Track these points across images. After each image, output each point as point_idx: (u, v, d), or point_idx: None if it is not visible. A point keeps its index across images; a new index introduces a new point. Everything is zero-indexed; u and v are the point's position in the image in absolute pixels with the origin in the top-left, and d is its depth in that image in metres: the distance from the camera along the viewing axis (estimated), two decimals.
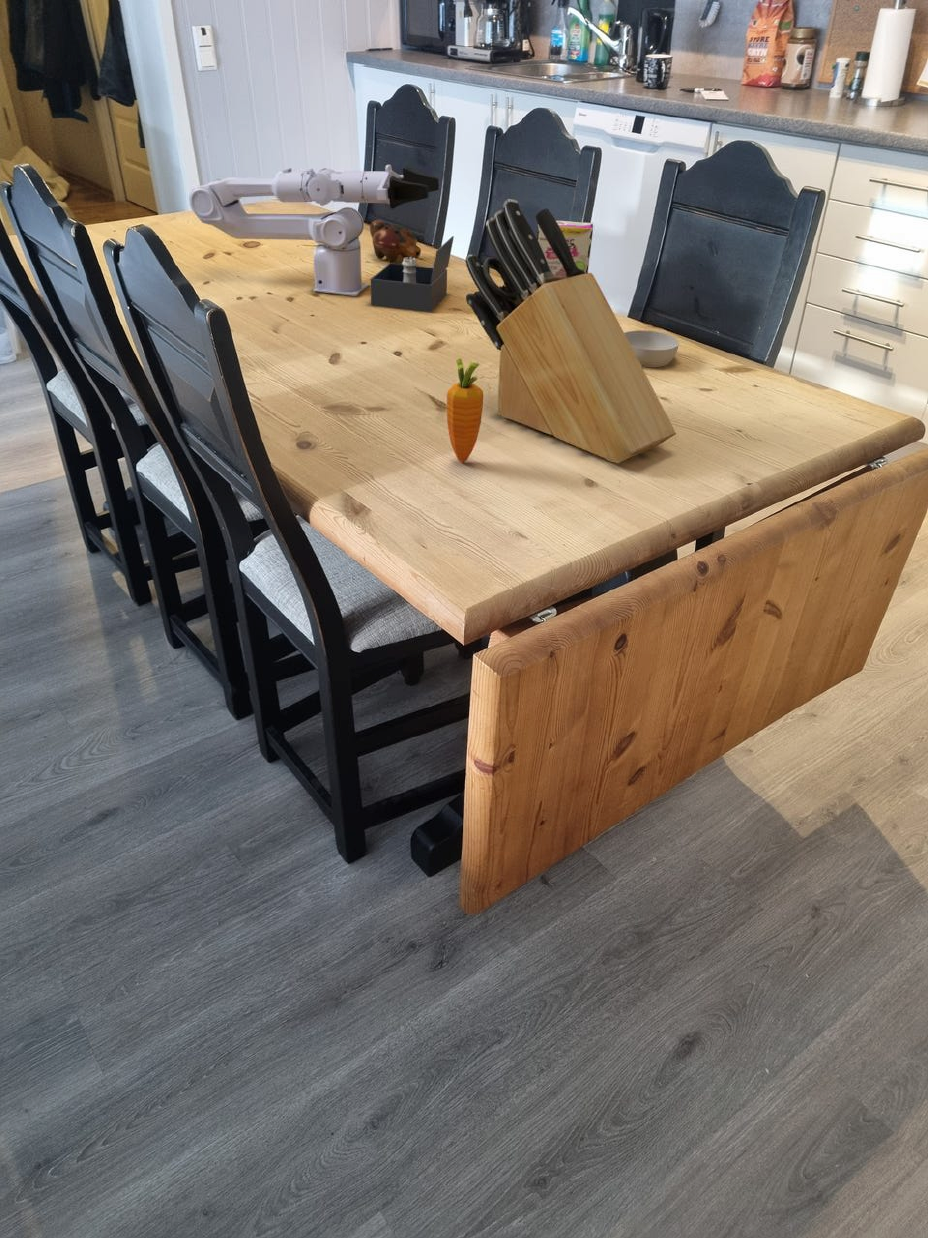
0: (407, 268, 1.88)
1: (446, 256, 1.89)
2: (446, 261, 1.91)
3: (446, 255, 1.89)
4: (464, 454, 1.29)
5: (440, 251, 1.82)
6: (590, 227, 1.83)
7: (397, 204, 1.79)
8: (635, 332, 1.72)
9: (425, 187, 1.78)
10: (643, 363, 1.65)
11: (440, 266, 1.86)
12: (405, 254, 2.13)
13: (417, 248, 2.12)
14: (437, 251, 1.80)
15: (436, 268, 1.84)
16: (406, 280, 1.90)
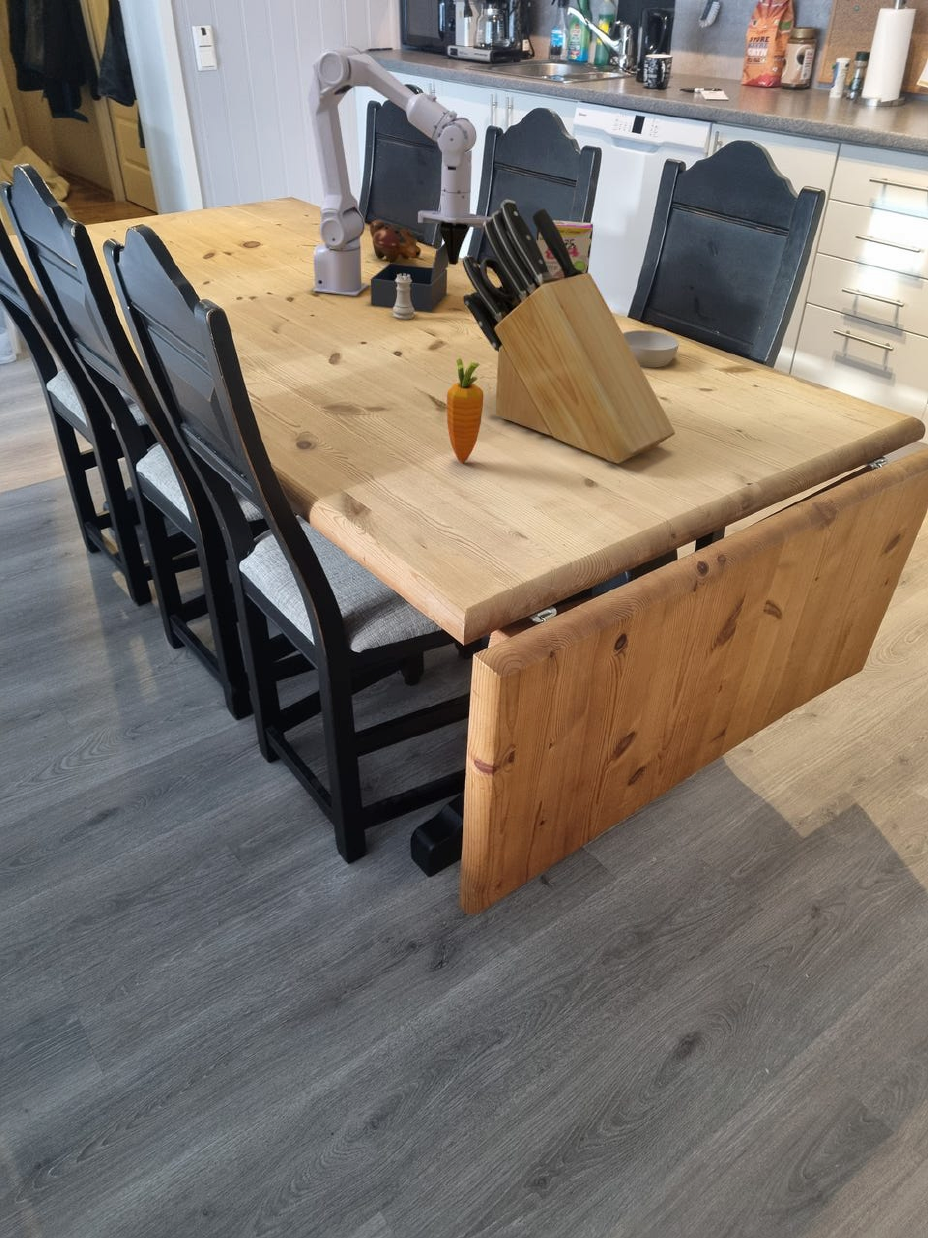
0: (401, 285, 1.79)
1: (446, 256, 1.89)
2: (446, 261, 1.91)
3: (446, 255, 1.89)
4: (464, 454, 1.29)
5: (440, 251, 1.82)
6: (590, 227, 1.82)
7: None
8: (635, 332, 1.72)
9: (449, 262, 1.86)
10: (643, 363, 1.65)
11: (440, 266, 1.86)
12: (405, 254, 2.13)
13: (417, 248, 2.12)
14: (437, 251, 1.80)
15: (436, 268, 1.84)
16: (400, 298, 1.81)
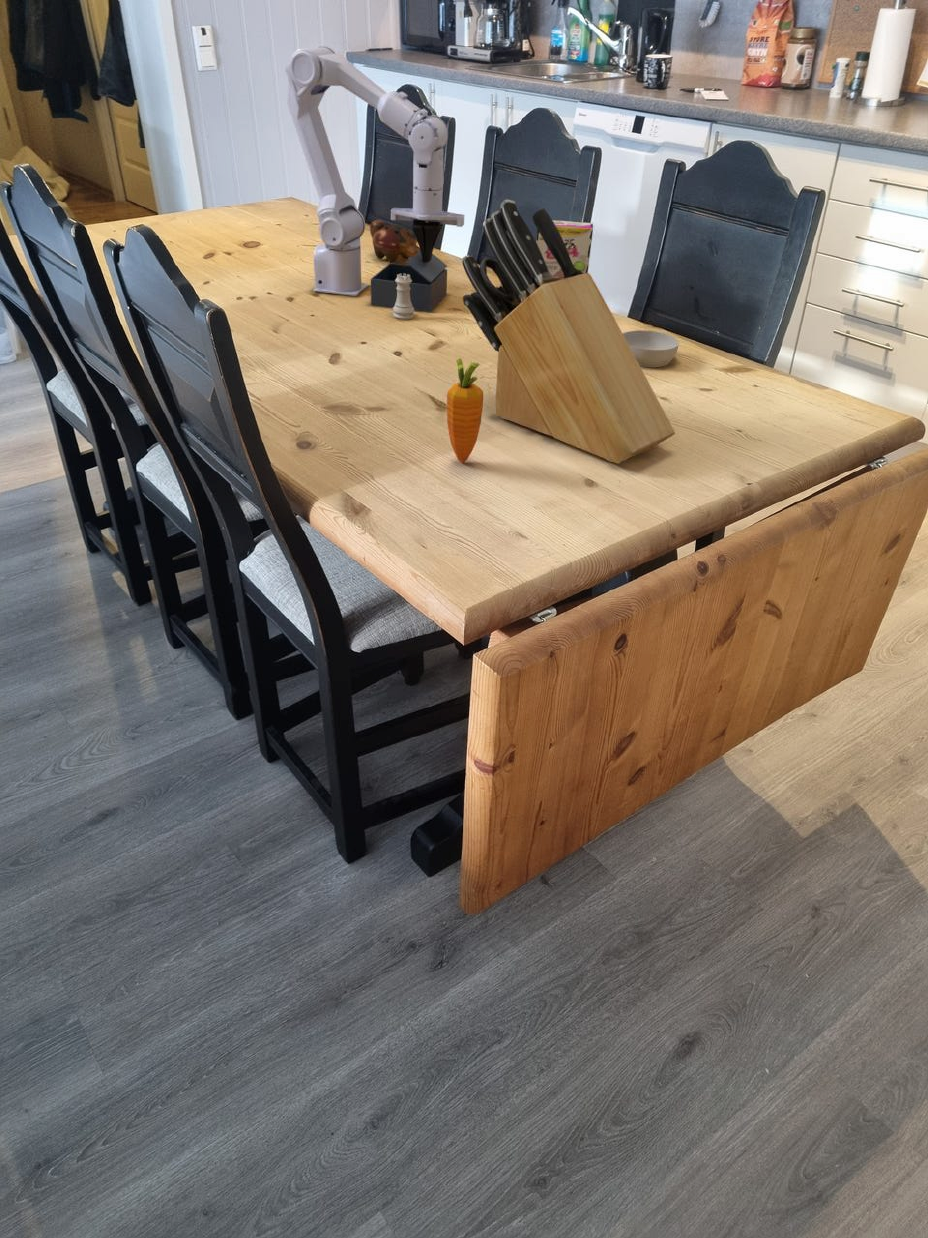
0: (401, 285, 1.79)
1: (431, 260, 1.90)
2: (437, 263, 1.91)
3: None
4: (464, 454, 1.29)
5: (412, 260, 1.85)
6: (590, 227, 1.82)
7: None
8: (635, 332, 1.72)
9: (422, 259, 1.87)
10: (643, 363, 1.65)
11: (430, 268, 1.87)
12: (405, 254, 2.13)
13: (417, 248, 2.12)
14: (406, 261, 1.83)
15: (424, 271, 1.85)
16: (400, 298, 1.81)
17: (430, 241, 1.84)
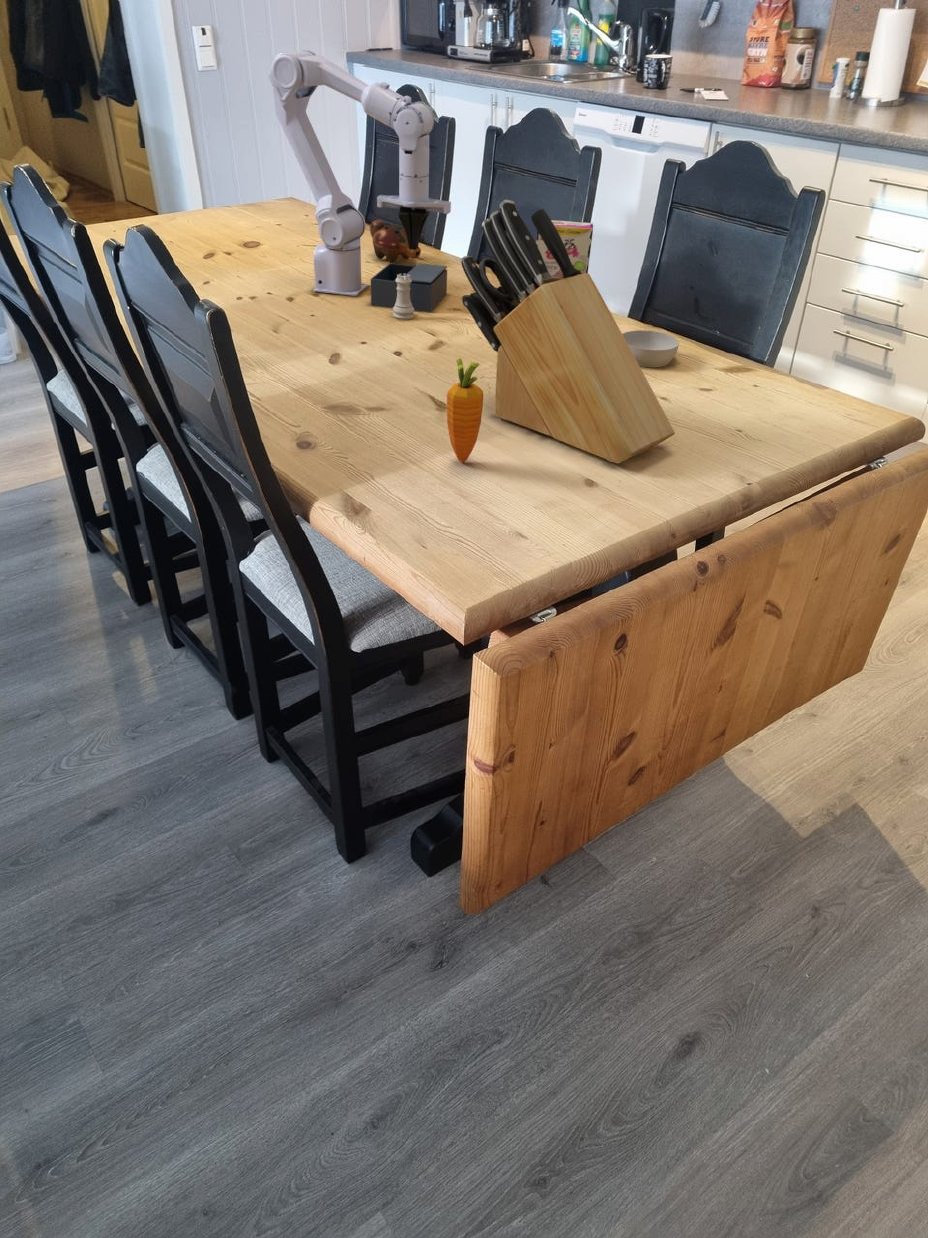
0: (401, 285, 1.79)
1: (428, 268, 1.91)
2: (435, 268, 1.92)
3: (427, 268, 1.91)
4: (464, 454, 1.29)
5: None
6: (590, 227, 1.82)
7: None
8: (635, 332, 1.72)
9: None
10: (643, 363, 1.65)
11: (428, 274, 1.88)
12: (405, 254, 2.13)
13: (417, 248, 2.12)
14: None
15: (422, 278, 1.85)
16: (400, 298, 1.81)
17: (417, 228, 1.83)
